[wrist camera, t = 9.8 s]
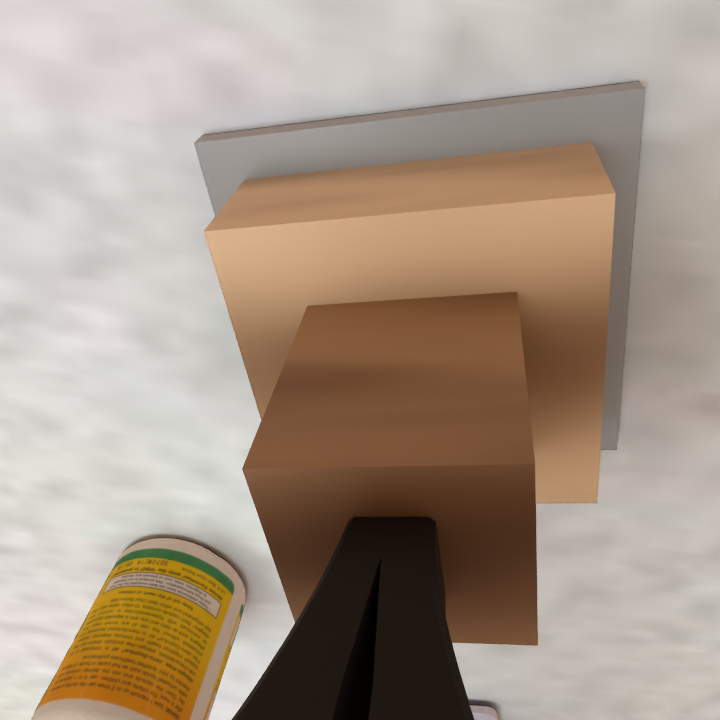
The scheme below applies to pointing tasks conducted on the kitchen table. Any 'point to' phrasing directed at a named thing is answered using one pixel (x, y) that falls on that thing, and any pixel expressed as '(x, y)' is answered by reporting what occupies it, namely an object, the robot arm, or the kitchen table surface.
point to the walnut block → (407, 450)
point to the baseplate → (462, 138)
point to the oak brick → (441, 271)
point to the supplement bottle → (151, 638)
